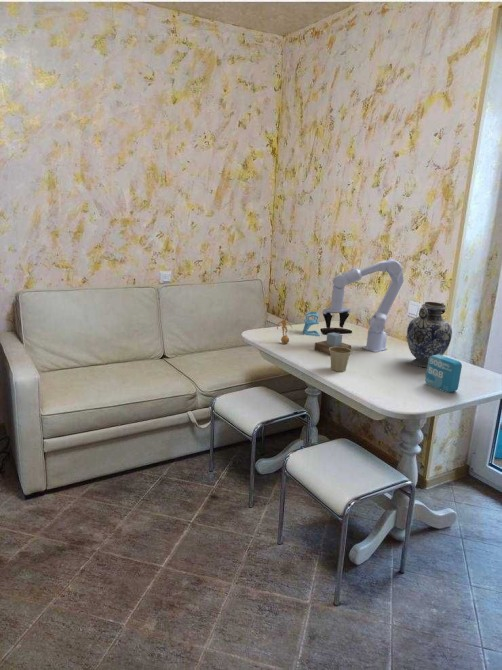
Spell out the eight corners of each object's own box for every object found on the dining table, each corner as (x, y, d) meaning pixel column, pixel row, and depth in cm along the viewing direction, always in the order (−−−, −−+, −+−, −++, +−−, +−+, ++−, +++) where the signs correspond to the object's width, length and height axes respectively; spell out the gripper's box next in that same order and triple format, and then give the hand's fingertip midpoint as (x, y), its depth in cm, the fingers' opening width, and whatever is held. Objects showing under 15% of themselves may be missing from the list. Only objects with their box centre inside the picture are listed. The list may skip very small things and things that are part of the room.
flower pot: (322, 366, 205) (324, 347, 203) (341, 364, 209) (343, 345, 206) (334, 374, 197) (336, 353, 194) (353, 372, 200) (356, 352, 198)
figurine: (278, 345, 233) (280, 321, 230) (273, 341, 238) (275, 318, 235) (294, 344, 236) (296, 320, 233) (289, 340, 241) (290, 317, 238)
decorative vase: (416, 354, 229) (425, 297, 222) (454, 365, 217) (465, 304, 209) (393, 363, 215) (402, 301, 207) (432, 375, 202) (444, 310, 195)
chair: (301, 332, 260) (302, 310, 257) (316, 332, 261) (317, 310, 258) (304, 335, 253) (305, 313, 250) (319, 336, 254) (321, 313, 251)
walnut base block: (331, 347, 236) (331, 339, 235) (350, 353, 227) (351, 345, 226) (314, 350, 229) (315, 342, 228) (333, 357, 220) (334, 349, 219)
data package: (424, 383, 192) (428, 354, 189) (432, 381, 194) (436, 353, 191) (449, 393, 182) (455, 363, 179) (457, 392, 184) (462, 362, 181)
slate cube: (333, 342, 230) (334, 332, 229) (341, 345, 226) (342, 334, 225) (326, 343, 227) (327, 333, 225) (334, 346, 223) (335, 336, 222)
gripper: (329, 302, 224) (326, 330, 228) (354, 301, 230) (351, 328, 234) (321, 299, 230) (318, 326, 234) (346, 298, 236) (343, 325, 240)
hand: (334, 327), depth 234 cm, fingers open, 7 cm apart
